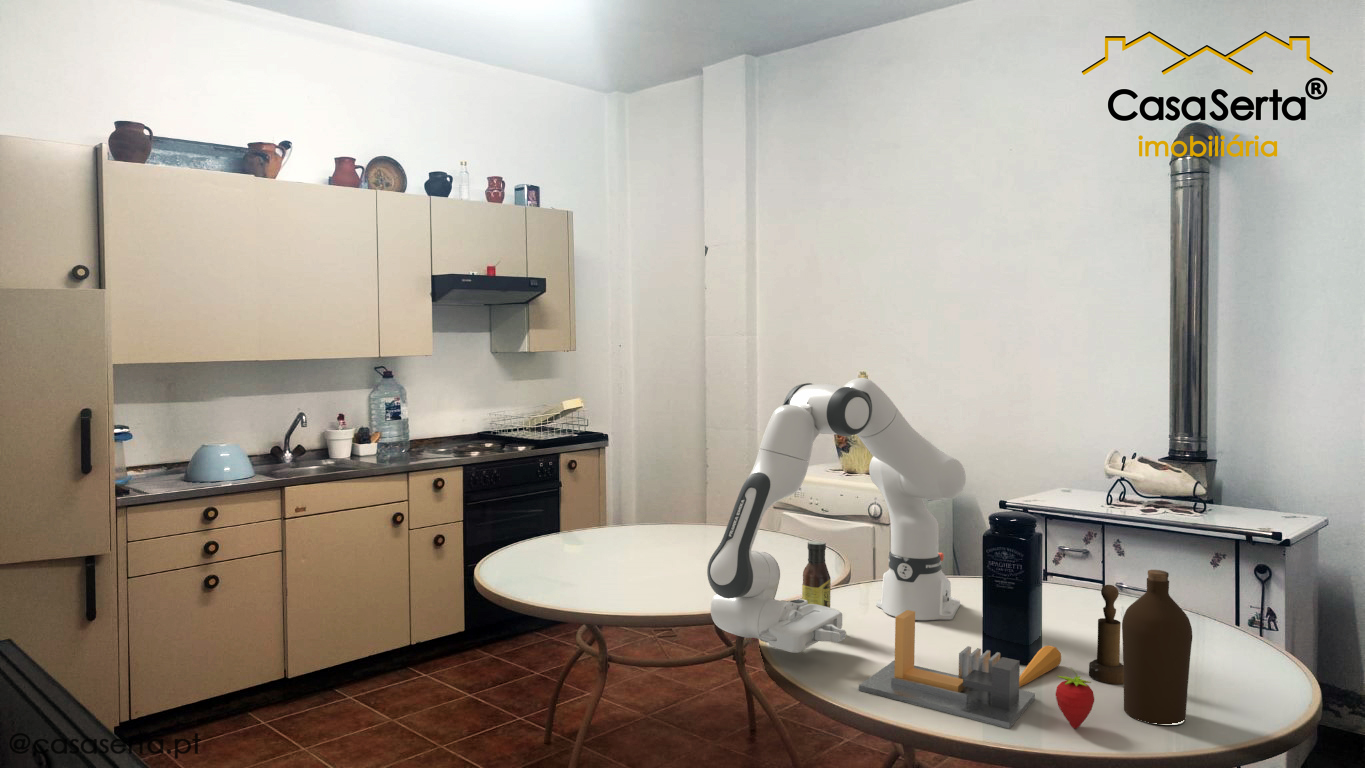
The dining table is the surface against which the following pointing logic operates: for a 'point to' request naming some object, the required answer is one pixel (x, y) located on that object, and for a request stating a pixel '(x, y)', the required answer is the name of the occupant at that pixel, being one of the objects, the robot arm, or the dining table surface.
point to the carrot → (1040, 664)
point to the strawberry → (1074, 699)
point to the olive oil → (1156, 654)
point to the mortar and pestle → (1108, 643)
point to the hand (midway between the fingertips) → (842, 636)
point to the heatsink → (982, 699)
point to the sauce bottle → (816, 576)
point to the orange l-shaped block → (906, 657)
